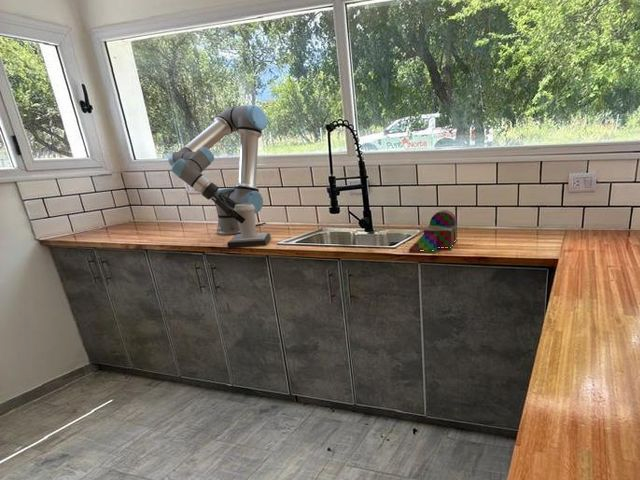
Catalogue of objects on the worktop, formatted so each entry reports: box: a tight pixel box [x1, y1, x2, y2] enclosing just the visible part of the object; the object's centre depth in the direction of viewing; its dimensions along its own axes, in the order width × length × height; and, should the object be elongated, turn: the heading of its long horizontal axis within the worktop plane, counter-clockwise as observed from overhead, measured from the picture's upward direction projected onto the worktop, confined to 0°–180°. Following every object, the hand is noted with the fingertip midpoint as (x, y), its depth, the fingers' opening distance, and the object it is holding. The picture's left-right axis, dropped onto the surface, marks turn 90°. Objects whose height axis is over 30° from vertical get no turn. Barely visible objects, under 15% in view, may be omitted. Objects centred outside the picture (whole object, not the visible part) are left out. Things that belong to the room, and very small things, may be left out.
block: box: [408, 209, 458, 254], centre depth 196 cm, size 25×17×14 cm
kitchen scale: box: [226, 232, 272, 249], centre depth 217 cm, size 18×17×3 cm
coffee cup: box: [234, 204, 257, 238], centre depth 213 cm, size 10×10×15 cm
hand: (246, 219), depth 213 cm, fingers open, 13 cm apart
